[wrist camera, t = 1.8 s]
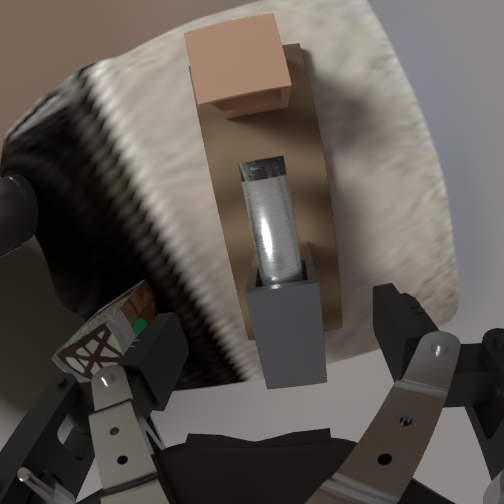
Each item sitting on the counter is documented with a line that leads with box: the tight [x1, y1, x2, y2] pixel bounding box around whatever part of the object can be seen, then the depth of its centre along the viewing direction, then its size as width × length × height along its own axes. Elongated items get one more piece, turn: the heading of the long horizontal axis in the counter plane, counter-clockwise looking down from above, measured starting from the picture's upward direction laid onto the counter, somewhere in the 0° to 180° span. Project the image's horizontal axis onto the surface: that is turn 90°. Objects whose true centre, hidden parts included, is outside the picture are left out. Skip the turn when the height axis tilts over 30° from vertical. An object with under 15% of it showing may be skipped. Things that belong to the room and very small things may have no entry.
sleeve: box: [245, 259, 327, 389], centre depth 22 cm, size 9×5×4 cm, turn 11°
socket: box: [184, 13, 292, 119], centre depth 18 cm, size 5×5×9 cm
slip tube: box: [238, 156, 304, 286], centre depth 21 cm, size 17×3×3 cm, turn 11°
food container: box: [51, 279, 156, 383], centre depth 28 cm, size 12×6×10 cm, turn 123°
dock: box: [189, 43, 342, 340], centre depth 24 cm, size 28×10×6 cm, turn 11°
